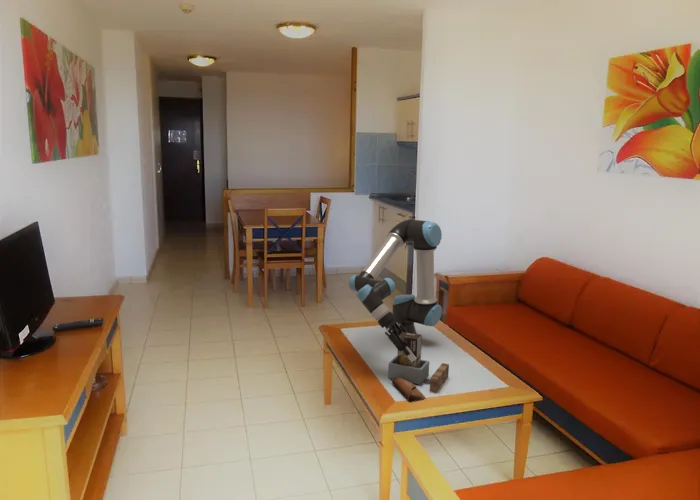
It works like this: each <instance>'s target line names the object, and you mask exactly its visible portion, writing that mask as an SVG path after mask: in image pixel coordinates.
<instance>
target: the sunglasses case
mask: <svg viewBox="0 0 700 500" xmlns="http://www.w3.org/2000/svg"><path fill="white" fill-rule="evenodd" d="M391 384H392V385H393V386H394V387H395V388H397V390H398V391H399V392H401V394H402V395H403V396H404V397H405V398H406V399H407V400H408V401H409V402H410V403H413V402H412V401H414V402H419V401H420V402H421V401H425V400H424V399H426V400H427V397H426V396H425V395H424V394H423V393H422V392H421V390H419V389H418V388H417V386H416V384H415V383H411V382H409V381H406V380H404V379H401V378H398V377H395V378H393V379H391Z"/></svg>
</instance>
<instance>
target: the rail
mask: <svg viewBox="0 0 700 500" xmlns="http://www.w3.org/2000/svg"><path fill="white" fill-rule="evenodd" d="M422 384H423V385H424V384H426V385H429V386H430V378H426V379H425V380H424V382H423V383H422Z"/></svg>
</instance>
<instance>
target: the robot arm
mask: <svg viewBox="0 0 700 500" xmlns="http://www.w3.org/2000/svg"><path fill="white" fill-rule="evenodd" d="M442 236H443V235H442V230H441V227H440V225H439V224H438V223H436V222H434V221H429V220H421V219H413V218H411V219H409V218H408V219H405V220H402V221H400V222H399V223H397V224H396V225H395V226H394V227H392V229H390V231H388V233H387V235H386V239H385V240H384V242H383V243H382V244H381V246H380V247H379V248H378V250H376V252H375V253H374V255H373V256H372V257H371V258H370V260H369V261H368V262H367V264H366V265H365V266H364V268H363V269H362V271H361V272H360V273H359V274H353V275H352V276H351V277H350V278H349V281H348V287H349V288H350V290H351V291H354V292H356V296H357V298H358V300H359V301H360V303H361V304H362V306H364V308H366V310H367V311H368V313H370V314H371V316H372V318H373V319H374V320H375V321H377V324H378V325H379V326H380V327H381V328H382V329H383V328H385V330H386V331H384V334H385V335H386V336H387V338H388V339H390V341H391V342H392V344H393V345H394V347H395V348H396V349H397V351H398V350H399V351H400V352H401V351H403V352H404V353H405V355H406V356H407V357H408V358H409V360H410V361H411V362H413V361H415V360H416V359H417V358H416V357H415V355H414V354H413V353H412V352H411V351H410V349H409V348H408V347H406V346H405V344H404V343H403V341H402V340H401V339H400V337H399V335H400V334H401V333H402V332H407V333H413V334H418V333H417V330H416V326H415V324H419V325H422V326H426V327H427V326H428V327H435V326H436V325H437V324H438V323H439V321H440V320H441V317H442V313H443V308H442V305H440V304H438V299H437V297H435V263H434V262H435V259H434V258H435V257H434V256H435V255H434V254H435V253H434V252H435V251H436V249H437V248H438V247H437V246H439V245H440V244H441V240H442ZM407 243H412V248H413V250H414V251H416V252H415V253H416V256H415V258H416V261H415V262H416V264H415V265H416V295H414V294H399V295H395V296H394V297H393V299H392V311H390V309H389V308H388V305H386V304H385V302H384V301H383V300H384V299H386V298H387V297H388V296H390V295H391V294H392V293H394V292H395V289H396V284H395V281H394V280H393V279H392V278H390V277H385V278H382V279H381V280H380V279H377V277H378V276H379V275H380V273H382V271H383V269H384V268H385V267H386V266H387V264H388V263H389V261H390V260H391V259H392V258H393V256H394V255H395V253H396V252H397V251H398V250H399V248H402V247H403V246H404V245H405V244H407ZM422 354H423V353H422V351H421V355H422Z"/></svg>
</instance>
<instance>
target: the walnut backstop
mask: <svg viewBox="0 0 700 500" xmlns="http://www.w3.org/2000/svg"><path fill="white" fill-rule="evenodd" d="M449 370H450V364H449V363H445V362H443V363H441V364H440V366H438V368H437V369H436V370H435V372H434V373H433V374H432V375H431V376H430V378H429V379H430V385H429V392H431V393H436V394H437V393H438V392H439V390H440V389H441V388H442V386H443V385H444V384H445V383H446V381H447V380H448V378H449Z"/></svg>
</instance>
